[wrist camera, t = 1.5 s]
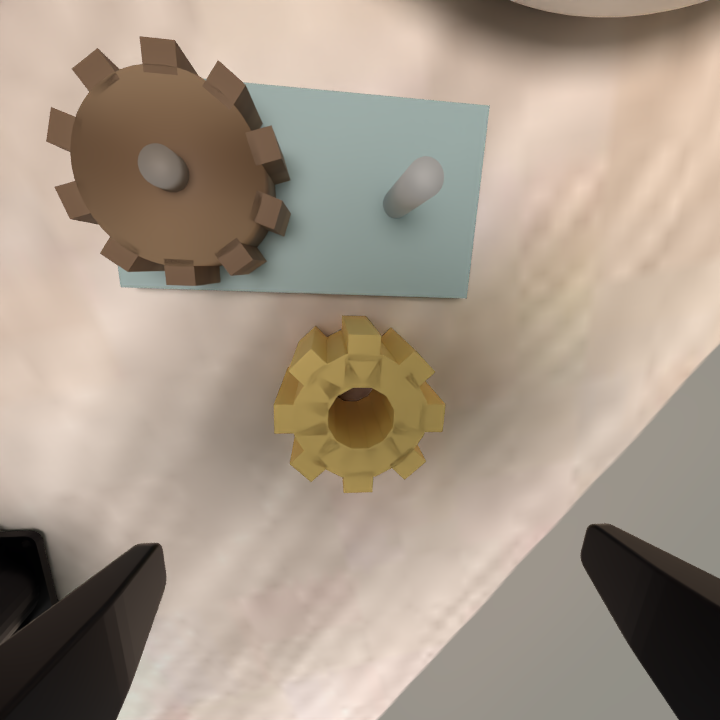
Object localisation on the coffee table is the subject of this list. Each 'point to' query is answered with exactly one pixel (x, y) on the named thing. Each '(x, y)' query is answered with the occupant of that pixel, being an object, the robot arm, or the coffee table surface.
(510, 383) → the coffee table surface
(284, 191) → the gear board
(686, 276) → the coffee table surface
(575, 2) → the bowl
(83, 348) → the coffee table surface
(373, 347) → the gear
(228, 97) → the gear
